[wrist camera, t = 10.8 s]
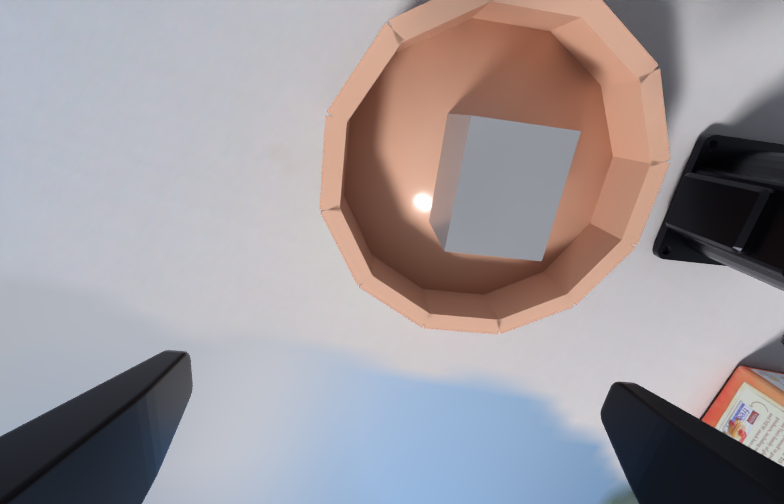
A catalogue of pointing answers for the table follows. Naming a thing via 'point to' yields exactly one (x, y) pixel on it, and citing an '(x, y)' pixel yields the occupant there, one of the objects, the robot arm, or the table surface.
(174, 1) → the table surface
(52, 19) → the table surface
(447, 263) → the bowl
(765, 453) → the cracker box
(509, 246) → the grey rectangular prism
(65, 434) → the robot arm
